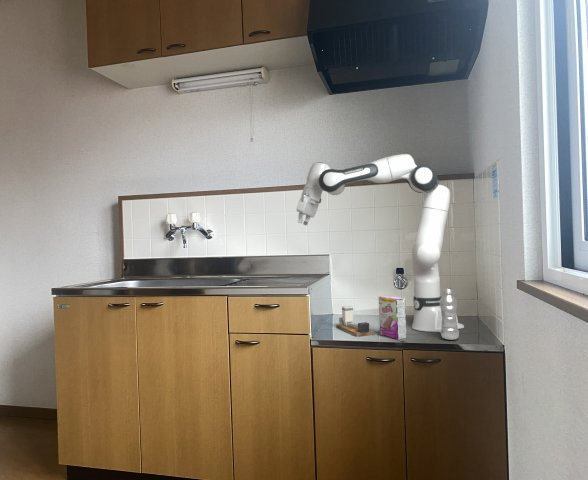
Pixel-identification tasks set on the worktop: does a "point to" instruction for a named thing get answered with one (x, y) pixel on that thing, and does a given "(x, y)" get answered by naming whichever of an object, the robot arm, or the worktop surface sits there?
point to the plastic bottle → (449, 315)
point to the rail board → (352, 329)
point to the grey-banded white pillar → (347, 314)
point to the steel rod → (359, 326)
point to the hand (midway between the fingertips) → (302, 223)
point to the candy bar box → (392, 317)
